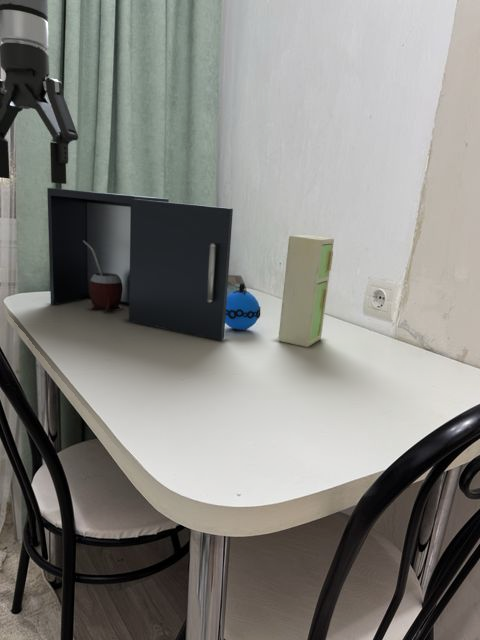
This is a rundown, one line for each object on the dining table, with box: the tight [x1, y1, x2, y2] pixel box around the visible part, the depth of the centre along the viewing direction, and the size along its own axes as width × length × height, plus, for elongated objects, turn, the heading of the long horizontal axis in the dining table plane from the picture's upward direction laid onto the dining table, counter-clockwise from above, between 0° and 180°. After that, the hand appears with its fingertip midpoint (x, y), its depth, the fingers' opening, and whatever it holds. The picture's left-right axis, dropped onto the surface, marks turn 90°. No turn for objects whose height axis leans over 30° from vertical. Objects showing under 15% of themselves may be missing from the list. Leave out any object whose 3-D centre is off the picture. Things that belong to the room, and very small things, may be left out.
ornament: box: [225, 283, 261, 331], centre depth 107 cm, size 9×9×10 cm
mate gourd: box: [83, 240, 123, 313], centre depth 113 cm, size 8×8×15 cm
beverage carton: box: [227, 274, 248, 295], centre depth 134 cm, size 8×19×7 cm, turn 6°
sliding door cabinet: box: [46, 187, 234, 341], centre depth 108 cm, size 45×15×26 cm, turn 66°
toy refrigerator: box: [278, 234, 335, 348], centre depth 101 cm, size 8×7×21 cm
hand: (29, 180), depth 91 cm, fingers open, 13 cm apart
